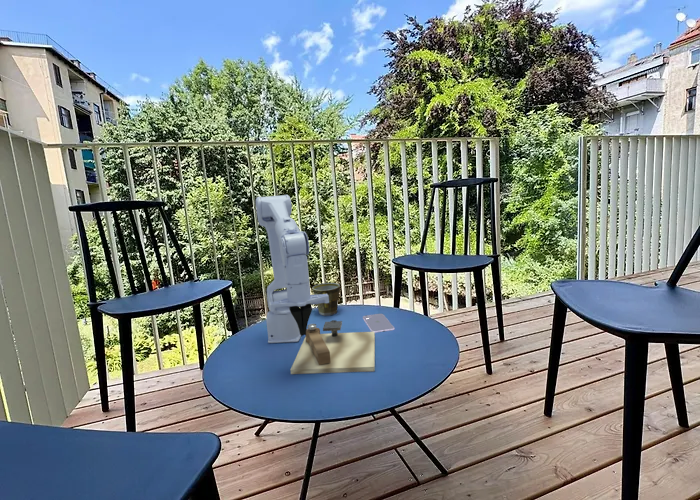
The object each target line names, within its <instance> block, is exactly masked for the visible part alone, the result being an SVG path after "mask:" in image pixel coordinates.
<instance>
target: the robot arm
mask: <svg viewBox="0 0 700 500" xmlns="http://www.w3.org/2000/svg"><path fill="white" fill-rule="evenodd" d="M255 209H256V217H257V221H258V223H259V226H261V227H264V228H265V230H266V233H267V239H268V244H269V251H270V258H271V267H272V271H273V278H274V279H273V280H272V281H271V282H270V283H269V285H267V288H266V300H267V308H268V311H267V314H266V319H265V320H266V321H265V322H266V329H267V330H266V331H267V337H268V340H267V343H268V344H276V343H278V344H279V343H299V341H300V339H301V337H303V336H305V335H306V329H308V325H309V324H308V323H309V320H310V317H311V315H312V312H313V307H312V305H317V304H320V303H329V296H328V295H327V294H319V295H314V294H311V286H310V275H309V273H310V272H309V263H308V256H309V255H310V254H309V253H310V242H309V239H308V238H309V237H308V234H307V233H306V231H301V230H300V228H299V226H298V223H297V222H296V220H295V219H293V218H292V217H291V216H292V210H293V207H292V200H291V197H290V195H288V194H283V195H271V196H270V195H269V196H257V197H256V198H255Z"/></svg>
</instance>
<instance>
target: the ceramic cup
mask: <svg viewBox="0 0 700 500" xmlns="http://www.w3.org/2000/svg"><path fill="white" fill-rule="evenodd" d="M340 290H341V285H340V284H339V283H336V282H324V283H318V284H316V285H314V286H312V293H313V295H319V294H327V295H328V296H329V303H320V304H316V306H317V311H318V314H319V315H321V316H324V317H326V316H333V315H336V314H337V313H338V308H339V307H338V306H339V305H338V304H339V296H340Z"/></svg>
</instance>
